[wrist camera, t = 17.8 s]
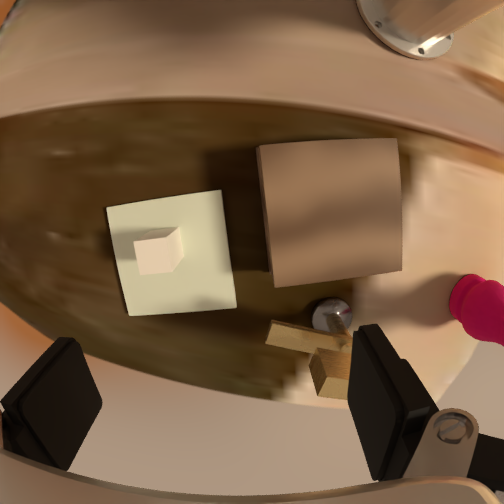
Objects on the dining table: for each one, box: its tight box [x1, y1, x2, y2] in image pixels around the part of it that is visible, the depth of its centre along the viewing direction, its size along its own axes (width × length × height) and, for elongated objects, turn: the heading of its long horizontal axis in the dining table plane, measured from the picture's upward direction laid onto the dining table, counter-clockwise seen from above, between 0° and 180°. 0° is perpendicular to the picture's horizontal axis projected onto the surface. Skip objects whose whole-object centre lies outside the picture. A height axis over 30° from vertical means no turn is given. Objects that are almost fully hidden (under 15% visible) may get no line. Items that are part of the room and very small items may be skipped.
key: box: [265, 314, 353, 400], centre depth 26 cm, size 12×2×12 cm, turn 74°
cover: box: [107, 190, 237, 316], centre depth 29 cm, size 12×12×6 cm
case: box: [256, 138, 402, 288], centre depth 28 cm, size 12×12×5 cm
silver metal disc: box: [311, 297, 352, 332], centre depth 33 cm, size 4×4×1 cm
